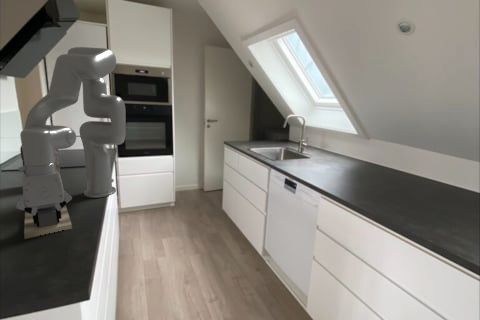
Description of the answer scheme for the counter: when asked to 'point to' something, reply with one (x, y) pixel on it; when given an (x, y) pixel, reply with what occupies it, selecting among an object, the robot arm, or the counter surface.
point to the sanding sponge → (47, 216)
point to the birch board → (35, 231)
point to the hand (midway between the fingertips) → (48, 222)
